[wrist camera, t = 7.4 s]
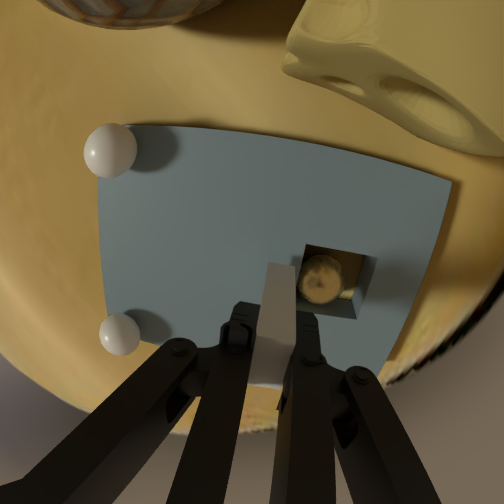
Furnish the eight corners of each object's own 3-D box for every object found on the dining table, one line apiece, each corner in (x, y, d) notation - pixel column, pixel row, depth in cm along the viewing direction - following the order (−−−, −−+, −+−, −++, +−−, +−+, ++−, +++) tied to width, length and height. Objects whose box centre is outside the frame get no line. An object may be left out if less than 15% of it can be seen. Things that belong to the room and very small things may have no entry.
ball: (315, 268, 16) (360, 269, 17) (295, 245, 19) (336, 248, 20) (302, 315, 17) (345, 312, 18) (285, 287, 20) (325, 287, 21)
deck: (120, 124, 18) (101, 125, 15) (434, 175, 16) (452, 181, 14) (123, 314, 24) (110, 330, 22) (369, 360, 23) (374, 380, 20)
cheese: (281, 77, 16) (271, 14, 6) (334, -37, 11) (356, -123, 2) (424, 149, 16) (523, 169, 7) (462, 33, 12) (545, -2, 3)
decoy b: (109, 301, 20) (88, 323, 17) (145, 311, 20) (126, 336, 17) (114, 332, 22) (95, 356, 19) (148, 343, 21) (131, 369, 19)
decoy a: (106, 123, 15) (74, 124, 12) (149, 123, 15) (120, 123, 12) (103, 172, 17) (72, 181, 14) (144, 175, 16) (117, 185, 13)
